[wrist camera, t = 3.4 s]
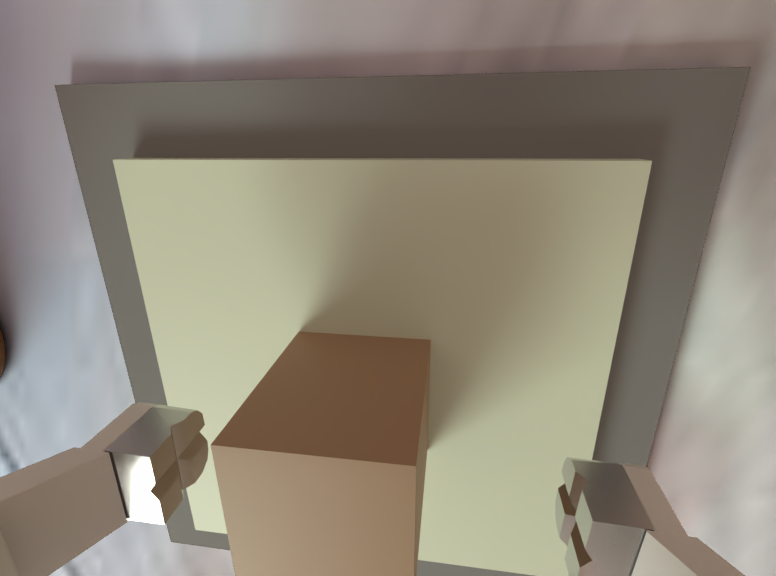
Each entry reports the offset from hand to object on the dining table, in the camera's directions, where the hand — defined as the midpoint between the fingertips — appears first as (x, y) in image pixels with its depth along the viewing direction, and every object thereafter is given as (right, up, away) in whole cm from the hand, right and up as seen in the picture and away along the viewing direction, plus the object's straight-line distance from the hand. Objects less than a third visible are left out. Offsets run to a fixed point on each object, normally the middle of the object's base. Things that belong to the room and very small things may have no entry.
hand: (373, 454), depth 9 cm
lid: (0, +1, +5) cm, 5 cm away
